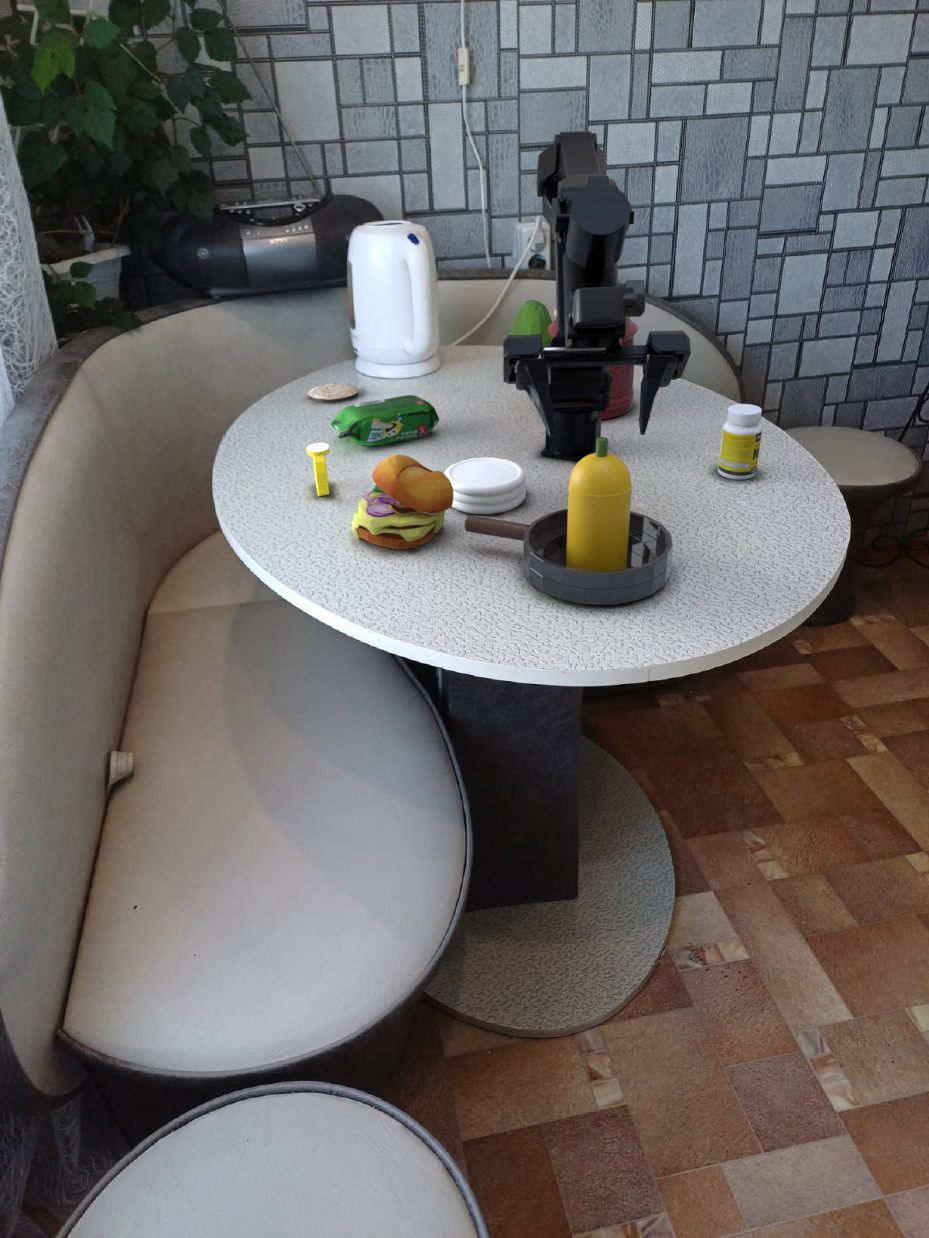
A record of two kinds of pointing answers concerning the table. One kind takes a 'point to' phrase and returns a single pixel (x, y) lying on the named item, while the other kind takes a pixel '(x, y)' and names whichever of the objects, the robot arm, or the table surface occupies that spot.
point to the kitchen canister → (615, 375)
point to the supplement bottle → (740, 442)
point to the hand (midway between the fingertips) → (597, 434)
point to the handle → (495, 527)
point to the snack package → (386, 420)
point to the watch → (320, 466)
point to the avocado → (533, 321)
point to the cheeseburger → (403, 504)
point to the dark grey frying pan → (597, 587)
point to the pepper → (598, 512)
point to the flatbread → (333, 391)
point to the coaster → (486, 485)
